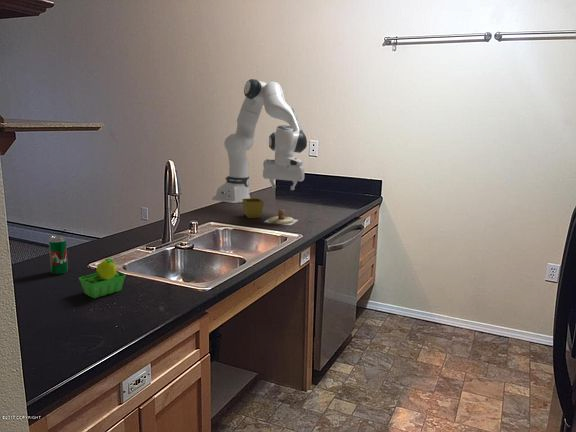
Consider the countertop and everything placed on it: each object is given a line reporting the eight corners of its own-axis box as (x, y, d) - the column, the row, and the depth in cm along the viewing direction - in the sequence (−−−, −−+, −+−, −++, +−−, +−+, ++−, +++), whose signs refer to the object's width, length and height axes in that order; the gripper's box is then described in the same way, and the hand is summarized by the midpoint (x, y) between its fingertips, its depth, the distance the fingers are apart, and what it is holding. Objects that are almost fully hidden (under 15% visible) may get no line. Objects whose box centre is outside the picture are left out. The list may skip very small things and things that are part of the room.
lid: (265, 222, 235) (265, 210, 233) (274, 217, 246) (274, 206, 244) (288, 224, 231) (289, 213, 230) (296, 219, 242) (297, 208, 241)
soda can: (63, 268, 163) (61, 234, 160) (71, 272, 160) (68, 237, 157) (48, 272, 159) (45, 237, 156) (55, 276, 156) (53, 240, 153)
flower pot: (263, 219, 243) (264, 201, 241) (246, 220, 240) (247, 202, 237) (258, 215, 251) (258, 198, 249) (241, 216, 247) (242, 198, 245)
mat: (263, 222, 235) (263, 221, 235) (272, 217, 246) (272, 216, 246) (291, 226, 231) (291, 225, 231) (298, 220, 242) (298, 219, 242)
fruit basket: (113, 283, 152) (112, 249, 149) (129, 291, 146) (128, 255, 144) (78, 293, 143) (76, 257, 141) (94, 302, 138) (92, 264, 135)
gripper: (261, 159, 232) (260, 188, 235) (302, 162, 226) (301, 191, 229) (265, 158, 238) (265, 186, 241) (306, 161, 232) (304, 189, 235)
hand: (283, 189), depth 235 cm, fingers open, 8 cm apart
